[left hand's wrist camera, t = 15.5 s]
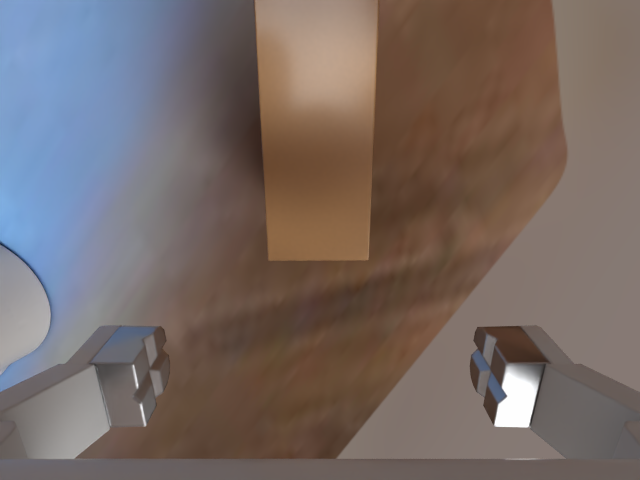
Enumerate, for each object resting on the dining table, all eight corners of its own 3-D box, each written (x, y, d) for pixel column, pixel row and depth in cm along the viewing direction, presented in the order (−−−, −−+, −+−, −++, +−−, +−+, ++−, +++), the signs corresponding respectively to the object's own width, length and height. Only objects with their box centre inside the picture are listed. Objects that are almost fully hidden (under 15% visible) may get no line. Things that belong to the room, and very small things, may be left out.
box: (353, 204, 37) (368, 260, 25) (284, 204, 37) (268, 261, 25) (362, -172, 27) (395, -367, 15) (270, -172, 27) (233, -366, 15)
